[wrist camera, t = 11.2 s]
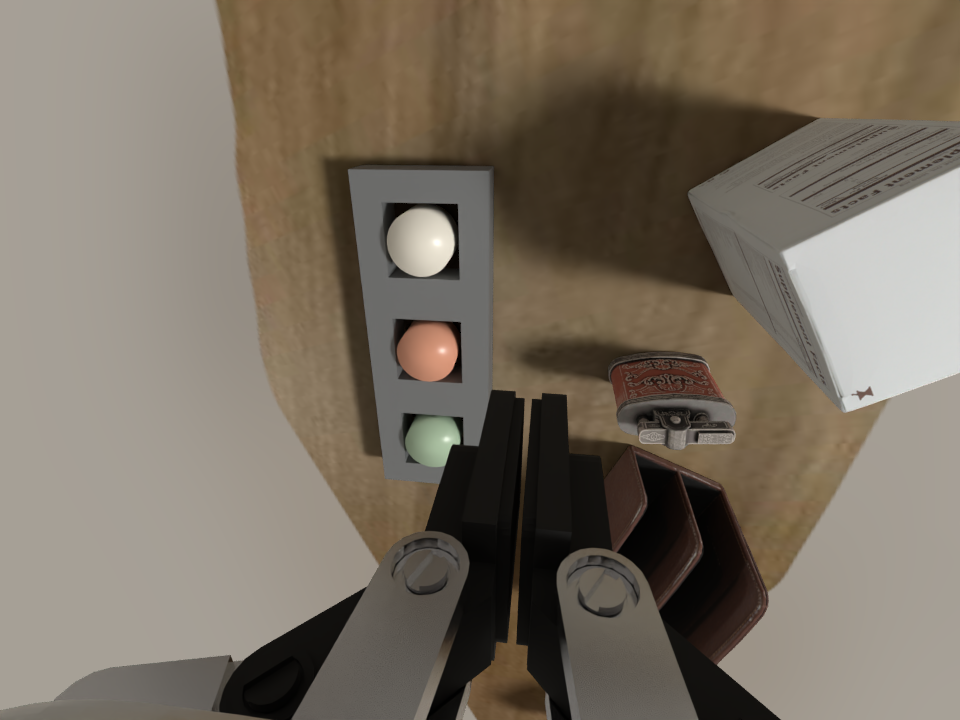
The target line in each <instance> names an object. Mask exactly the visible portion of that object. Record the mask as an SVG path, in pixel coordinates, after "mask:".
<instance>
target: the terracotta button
mask: <svg viewBox="0 0 960 720" xmlns="http://www.w3.org/2000/svg"><path fill="white" fill-rule="evenodd" d="M460 349H461V336H460V333H459V331H458V329H457V327H456V326H455V325H454V324H453V323H452V322H451V321H432V320H414V321H413V322H412V323H411V325H410V326H409V328H408V329H407V331H406V332H405V334H404V335H403V337H402V338H401V340H400V342H399V344H398V347H397V356H398V360H399V363H400V365H401V366H402V368H403V369H404V370H405V371H406V372H407V373H408V374H409V375H410V376H412V377H414V378H416V379H418V380H421V381H427V382H432V381H438V380H440V379H443V378H444V377H446V376H447V375H448V374H449V373H450V372H451V371H452V369H453V367H454V364H455V362H456V359H457V357H458V354H459V351H460Z"/></svg>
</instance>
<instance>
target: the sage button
mask: <svg viewBox="0 0 960 720" xmlns="http://www.w3.org/2000/svg"><path fill="white" fill-rule="evenodd" d="M462 435H463V423H462V420H461V419H460V417H454V416H440V415H426V414H416V416H415V418H414V420H413V422H412V425H411V427H410V429H409V431H408V433H407V436H406V439H405V445H406V449H407V451H408V453H409V454H410V456H411V457H412V458H413V459H414V460H416V461H417V462H419V463H420V464H423V465H425V466H429V467H442V466H445V464H446V461H447V458H448V455H449V451H450V449H451V446H452V445H453V444H457V445H460V442H461V438H462Z"/></svg>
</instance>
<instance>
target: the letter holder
mask: <svg viewBox="0 0 960 720" xmlns="http://www.w3.org/2000/svg"><path fill="white" fill-rule="evenodd" d="M604 487H605V495H606V503H607V510H608V518H609V526H610V534H611V542H612V549H613V552H616V553H619V554H621V555H622V556H624V557H625V558H627V559H629V560H630V561H632V562H633V563H634V564H635V565H636V566H637V567H638V568H639V569H640V570H641V571H642V573H643V575H644V577H645V578H646V580H647V582H648V584H649V586H650V589H651V592H652V595H653V597H654V600H655V603H656V606H657V608H658V611H659V614H660V616H661V618H662V619H663V620H664V621H665V622H666V623H668V624H669V625H670V626H671V627H672V628H673V629H675V630H676V631H677V632H678V633H679V634H681V635H682V636H683V637H684V638H685V639H686V640H688V641H689V642H690V643H691V644H692V645H693V646H695V647H696V648H697V649H698V650H699V651H701V652H702V653H703V654H704V655H705V656H706V657H708V658H709V659H710V660H711V661H712V662H713V663H715V664H716V665H717V664H718V663H719V662H720V661H721V660H722V659H723V658H724V657H725V656H726V655H727V654H728V653H729V652H730V651H731V650H732V649H733V648H734V647H735V646H736V645H737V644H738V643H739V642H740V641H741V640H742V639H743V638H744V637H745V636H746V635H747V634H748V633H749V632H750V630H751V629H752V628H753V627H754V626H755V625H756V624H757V623H758V621H759V620H760V619H761V618H762V617H763V615H764V614H765V612H766V610H767V607H768V601H769V600H768V592H767V589H766V587H765V584H764V582H763V579H762V577H761V574H760V572H759V570H758V567H757V565H756V562H755V560H754V558H753V555H752V553H751V551H750V549H749V546H748V544H747V542H746V539H745V537H744V535H743V533H742V531H741V527H740V525H739V523H738V521H737V518H736V516H735V514H734V512H733V509H732V507H731V505H730V502H729V500H728V497H727V495H726V492H725V490H724V488H723V486H722V485H721V484H719V483H717V482H715V481H712V480H710V479H708V478H706V477H704V476H701V475H699V474H697V473H695V472H692V471H690V470H688V469H686V468H683V467H681V466H679V465H676V464H674V463H672V462H670V461H668V460H665V459H663V458H660V457H658V456H656V455H654V454H651V453H649V452H647V451H644V450H642V449H640V448H638V447H635V446H633V445H630V446H629V447H628V448H627V449H626V451H625V452H624V453H623V455H622V456H621V457H620V459H619V460H618V461H617V463H616V464H615V466H614V467H613V468H612V469H611V471H610V472H609V473H608V475H607V476H606V478H605V479H604Z"/></svg>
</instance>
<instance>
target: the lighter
mask: <svg viewBox="0 0 960 720" xmlns="http://www.w3.org/2000/svg"><path fill="white" fill-rule="evenodd" d="M608 375H609V380H610V382H611V384H612V385H613V389H614V394H615V399H616V404H617V413H616V415H617V421H618V425H619V427H620V429H621V430H622V431H624V432H625V433H628V434H632V435H638V436H639V440H640V442H641V443H643V444H662V445H664V446H666V447H668V448H669V449H673V450H681V449H684V448H685V447H686V446H687V445H688V444H730V443H732V442H733V441H734V439H735V431H734V429H733V428H732V427H733V425H734V424H735V421H736V412H735V410H734V408H733V406H732V405H731V403H730V402H729V401H728V400H726V399H725V398H724V396H723V395H722V393H721V391H720V389H719V388H718V386H717V384H716V383H715V381H714V379H713V377H712V376H711V374H710V368H709V366H708V364H707V362H706V361H705V359H704V358H703V357H701V356H698V355H693V354H686V353H678V352H650V353H639V354H633V355H628V356H623V357H618V358H616V359H614V360H613V361H612V362H611V363H610V365H609V367H608Z"/></svg>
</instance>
